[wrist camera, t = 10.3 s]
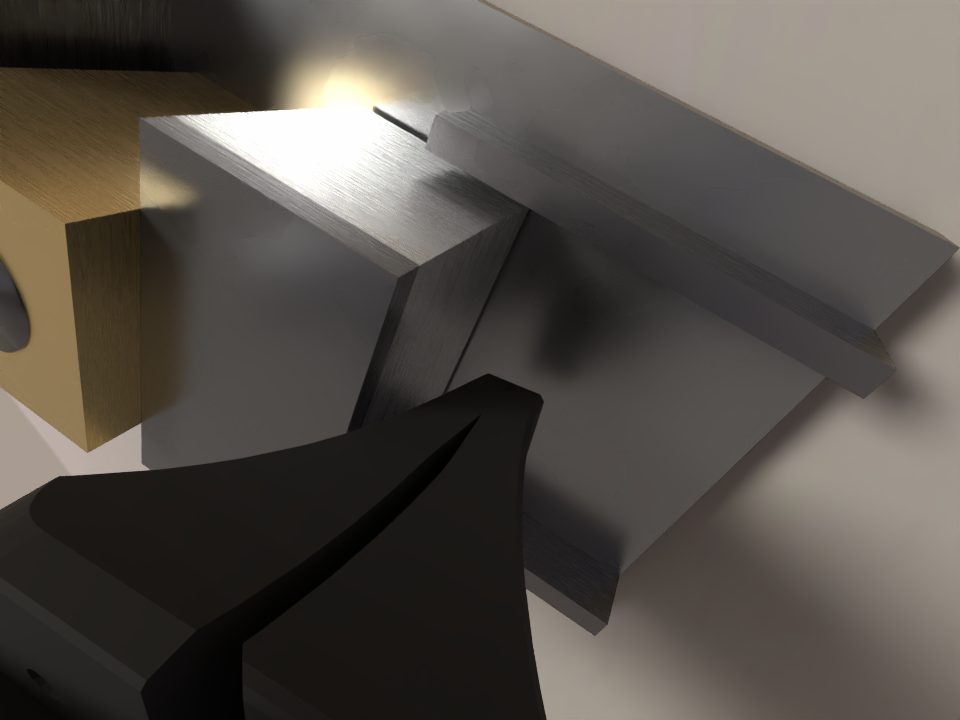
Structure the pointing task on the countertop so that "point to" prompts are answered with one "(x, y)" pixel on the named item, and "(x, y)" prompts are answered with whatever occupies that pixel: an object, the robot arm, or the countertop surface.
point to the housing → (79, 237)
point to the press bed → (571, 242)
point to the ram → (301, 277)
